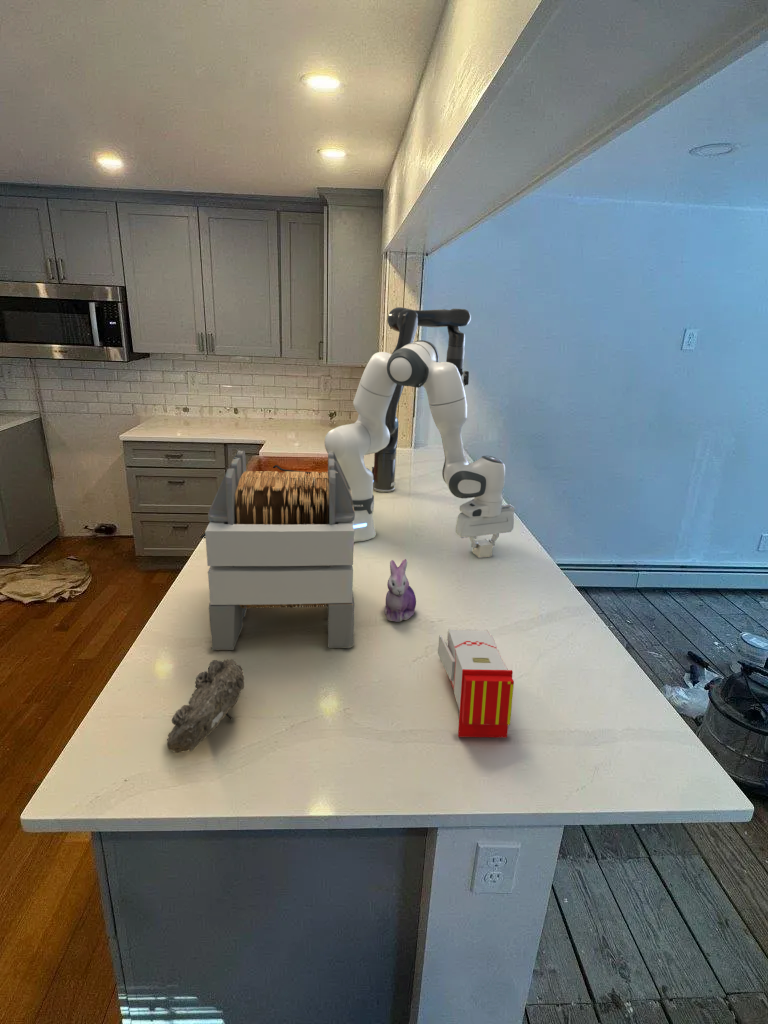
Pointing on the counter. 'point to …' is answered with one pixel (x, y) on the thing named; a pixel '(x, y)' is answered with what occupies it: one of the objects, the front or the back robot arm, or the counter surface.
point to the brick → (483, 548)
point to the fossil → (206, 705)
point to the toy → (478, 682)
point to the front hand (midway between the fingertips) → (483, 546)
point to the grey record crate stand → (280, 548)
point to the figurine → (399, 594)
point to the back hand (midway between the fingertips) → (452, 394)
